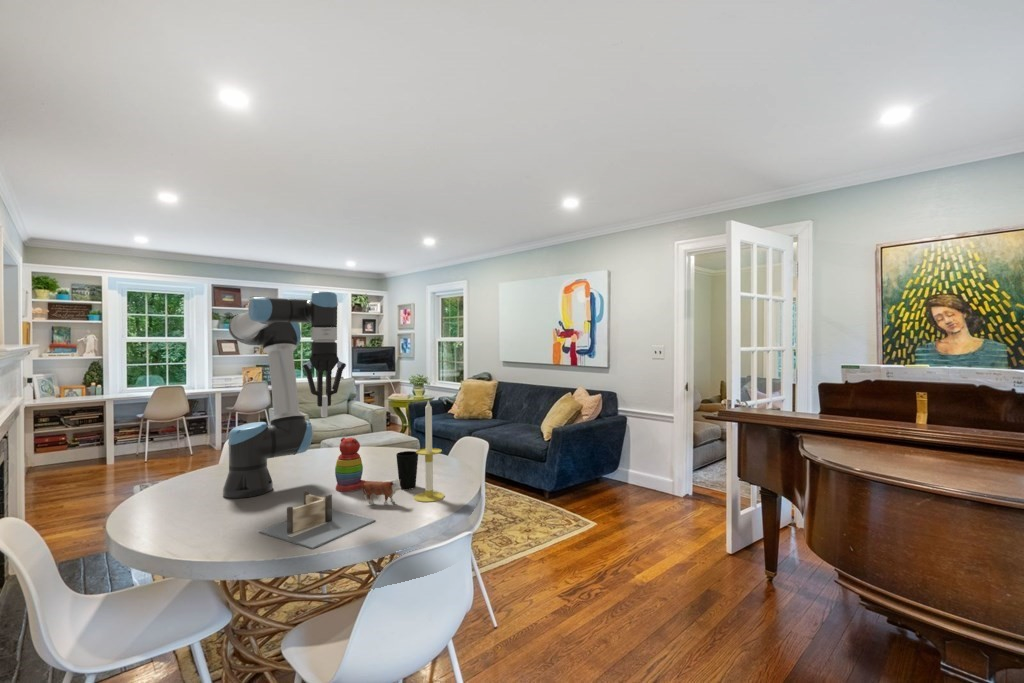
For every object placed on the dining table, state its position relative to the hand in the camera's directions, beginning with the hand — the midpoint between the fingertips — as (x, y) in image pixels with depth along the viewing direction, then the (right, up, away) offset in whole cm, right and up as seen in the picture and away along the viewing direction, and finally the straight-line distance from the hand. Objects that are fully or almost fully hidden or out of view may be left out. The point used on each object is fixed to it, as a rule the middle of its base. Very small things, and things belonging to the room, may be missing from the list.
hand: (324, 416), depth 148 cm
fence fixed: (+2, -28, -10) cm, 30 cm away
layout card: (+5, -28, -16) cm, 33 cm away
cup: (+22, -29, +20) cm, 41 cm away
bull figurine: (+18, -29, +3) cm, 34 cm away
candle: (+31, -28, +9) cm, 43 cm away
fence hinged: (+2, -27, -18) cm, 33 cm away
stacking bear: (+1, -29, +20) cm, 35 cm away
